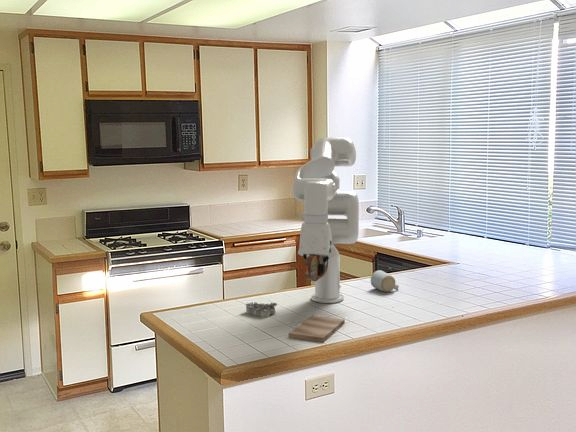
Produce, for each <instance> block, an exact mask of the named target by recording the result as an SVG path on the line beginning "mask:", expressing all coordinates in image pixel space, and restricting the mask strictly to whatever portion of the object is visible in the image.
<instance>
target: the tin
mask: <svg viewBox="0 0 576 432" xmlns="http://www.w3.org/2000/svg"><path fill="white" fill-rule="evenodd" d="M326 256H327V255H326ZM318 264H320V258H319V255H309V256H308V257H307V258H306V260H305V262H304V266H303V267H304V277H305V279H306V280H307V281H309V282H315V281H317V280H318V279H320V278H321V277H323V276H324V275H325V274H326V272H327V268H328V260H327V261H326V262H325V273H324V274H323V275H322V276H318Z"/></svg>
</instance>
